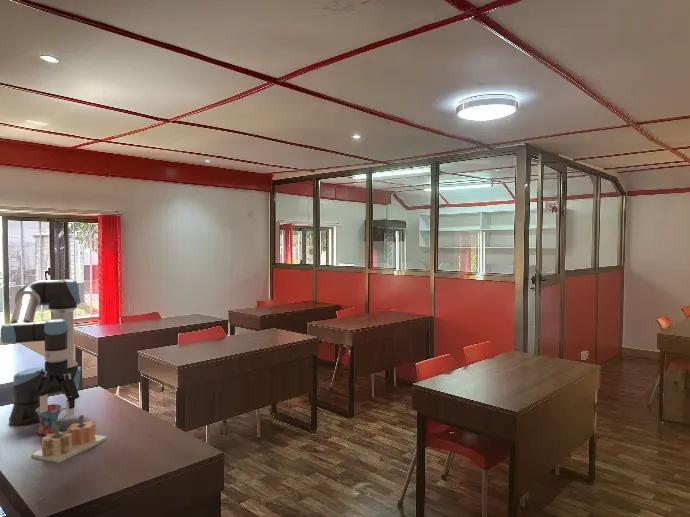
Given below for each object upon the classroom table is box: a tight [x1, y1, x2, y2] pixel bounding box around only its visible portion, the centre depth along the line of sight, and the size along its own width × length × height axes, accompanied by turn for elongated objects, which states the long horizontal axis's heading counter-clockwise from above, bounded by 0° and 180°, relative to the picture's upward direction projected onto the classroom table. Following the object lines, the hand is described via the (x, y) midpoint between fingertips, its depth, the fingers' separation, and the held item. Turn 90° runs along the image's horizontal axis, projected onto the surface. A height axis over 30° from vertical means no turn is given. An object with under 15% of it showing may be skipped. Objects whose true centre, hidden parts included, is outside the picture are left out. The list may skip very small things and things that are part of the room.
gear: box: [41, 430, 72, 457], centre depth 179 cm, size 10×10×6 cm
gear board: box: [31, 414, 108, 464], centre depth 184 cm, size 14×22×11 cm, turn 162°
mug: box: [36, 403, 66, 436], centre depth 201 cm, size 12×9×11 cm
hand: (56, 414), depth 179 cm, fingers open, 13 cm apart
